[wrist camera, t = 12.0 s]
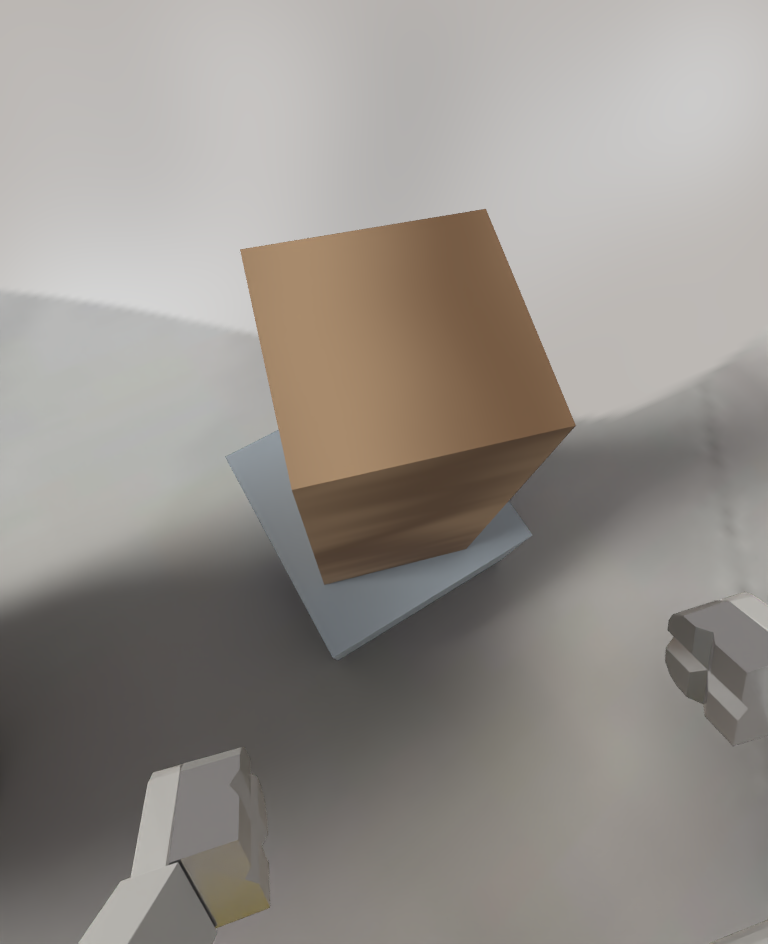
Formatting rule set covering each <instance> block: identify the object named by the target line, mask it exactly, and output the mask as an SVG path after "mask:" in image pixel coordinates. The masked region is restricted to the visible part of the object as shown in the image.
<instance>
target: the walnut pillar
mask: <svg viewBox="0 0 768 944" xmlns="http://www.w3.org/2000/svg"><path fill="white" fill-rule="evenodd" d="M240 251H241V255H242V260H243V264H244V269H245V274H246V278H247V283H248V288H249V293H250V297H251V302H252V307H253V312H254V316H255V321H256V325H257V330H258V335H259V340H260V344H261V349H262V354H263V358H264V363H265V368H266V372H267V377H268V382H269V386H270V391H271V396H272V400H273V405H274V410H275V414H276V419H277V424H278V428H279V433H280V438H281V442H282V447H283V452H284V456H285V461H286V466H287V470H288V475H289V480H290V484H291V489H292V492H293V495H294V498H295V501H296V504H297V507H298V510H299V513H300V516H301V519H302V522H303V524H304V527H305V530H306V533H307V536H308V539H309V542H310V545H311V548H312V551H313V554H314V557H315V559H316V562H317V565H318V568H319V571H320V574H321V577H322V580H323V583H324V585H326V584H330V583H334V582H338V581H342V580H346V579H350V578H354V577H358V576H362V575H365V574H369V573H373V572H377V571H381V570H385V569H389V568H393V567H397V566H401V565H405V564H409V563H413V562H417V561H421V560H425V559H429V558H433V557H437V556H441V555H445V554H449V553H453V552H457V551H461V550H464V549H467V547H468V546H469V545H470V544H471V543H472V542H473V541H474V540H475V538H476V537H477V536H478V535H479V534H480V533H481V532H482V531H483V529H484V528H485V527H486V526H487V525H488V524H489V523H490V522H491V520H492V519H493V518H494V517H495V516H496V515H497V514H498V512H499V511H500V510H501V509H502V508H503V507H504V506H505V505H506V503H507V502H508V501H509V500H510V499H511V498H512V497H513V496H514V494H515V493H516V492H517V491H518V490H519V489H520V488H521V487H522V485H523V484H524V483H525V482H526V481H527V480H528V479H529V478H530V476H531V475H532V474H533V473H534V472H535V471H536V470H537V469H538V467H539V466H540V465H541V464H542V463H543V462H544V461H545V460H546V458H547V457H548V456H549V455H550V454H551V453H552V452H553V451H554V449H555V448H556V447H557V446H558V445H559V444H560V443H561V442H562V440H563V439H564V438H565V437H566V436H567V435H568V434H569V433H570V431H571V430H572V429H573V428H574V427H575V426H576V425H575V423H574V420H573V418H572V416H571V413H570V411H569V408H568V406H567V404H566V401H565V399H564V396H563V394H562V392H561V389H560V387H559V384H558V382H557V379H556V377H555V375H554V372H553V370H552V367H551V365H550V363H549V360H548V358H547V355H546V353H545V351H544V348H543V346H542V343H541V341H540V339H539V336H538V334H537V331H536V329H535V326H534V324H533V322H532V319H531V317H530V314H529V312H528V310H527V307H526V305H525V302H524V300H523V298H522V296H521V293H520V290H519V288H518V286H517V283H516V281H515V278H514V276H513V273H512V271H511V269H510V266H509V264H508V261H507V259H506V257H505V254H504V252H503V249H502V247H501V245H500V242H499V240H498V237H497V235H496V232H495V230H494V228H493V225H492V223H491V221H490V218H489V216H488V213H487V211H486V209H483V210H476V211H470V212H465V213H458V214H453V215H446V216H440V217H434V218H428V219H422V220H416V221H410V222H404V223H398V224H392V225H386V226H380V227H374V228H367V229H362V230H355V231H350V232H343V233H337V234H332V235H325V236H319V237H313V238H307V239H301V240H295V241H289V242H283V243H277V244H271V245H265V246H259V247H253V248H246V249H241V250H240Z"/></svg>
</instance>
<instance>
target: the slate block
mask: <svg viewBox="0 0 768 944" xmlns="http://www.w3.org/2000/svg"><path fill="white" fill-rule="evenodd" d="M226 459H227V461H228V463H229V465H230V467H231V469H232V471H233V472H234V474H235V476H236V478H237V480H238V482H239V484H240V486H241V487H242V489H243V491H244V493H245V495H246V497H247V499H248V500H249V502H250V504H251V506H252V508H253V510H254V512H255V514H256V515H257V517H258V519H259V521H260V523H261V525H262V527H263V529H264V530H265V532H266V534H267V536H268V538H269V540H270V542H271V543H272V545H273V547H274V549H275V551H276V553H277V555H278V557H279V558H280V560H281V562H282V564H283V566H284V568H285V570H286V572H287V573H288V575H289V577H290V579H291V581H292V583H293V585H294V587H295V588H296V590H297V592H298V594H299V596H300V598H301V600H302V601H303V603H304V605H305V607H306V609H307V611H308V613H309V615H310V616H311V618H312V620H313V622H314V624H315V626H316V628H317V630H318V631H319V633H320V635H321V637H322V639H323V641H324V643H325V644H326V646H327V648H328V650H329V652H330V654H331V656H332V658H334V659H336V660H340V659H341V658H343V657H345V656H346V655H348V654H350V653H351V652H353V651H354V650H356V649H358V648H359V647H361V646H363V645H364V644H366V643H367V642H369V641H371V640H372V639H374V638H375V637H377V636H379V635H380V634H382V633H384V632H385V631H387V630H388V629H390V628H392V627H393V626H395V625H397V624H398V623H400V622H401V621H403V620H405V619H406V618H408V617H409V616H411V615H413V614H414V613H416V612H418V611H419V610H421V609H422V608H424V607H426V606H427V605H429V604H431V603H432V602H434V601H435V600H437V599H439V598H440V597H442V596H443V595H445V594H447V593H448V592H450V591H452V590H453V589H455V588H456V587H458V586H460V585H461V584H463V583H465V582H466V581H468V580H469V579H471V578H473V577H474V576H476V575H477V574H479V573H481V572H482V571H484V570H486V569H487V568H489V567H490V566H492V565H494V564H495V563H497V562H499V561H500V560H501V559H503V558H504V557H505V556H507V555H508V554H509V553H510V552H512V551H513V550H514V549H515V548H517V547H518V546H519V545H521V544H522V543H523V542H524V541H526V540H527V539H528V538H530V537H531V536H532V533H531V532H530V531H529V529H528V528H527V526H526V525H525V523H524V522H523V520H522V519H521V518H520V516H519V515H518V513H517V512H516V510H515V509H514V507H513V506H512V505H511V503H510V502H509V501H508V502H507V503H506V505H505V506H504V507H503V508H502V509H501V510H500V511H499V512H498V514H497V515H496V516H495V517H494V518H493V519H492V520H491V522H490V523H489V524H488V525H487V526H486V527H485V528H484V529H483V531H482V532H481V533H480V534H479V535H478V536H477V537H476V538H475V540H474V541H473V542H472V543H471V544H470V545H469V546H468V547H467V549H464V550H461V551H457V552H453V553H449V554H445V555H441V556H437V557H433V558H429V559H425V560H421V561H417V562H413V563H409V564H405V565H401V566H397V567H393V568H389V569H385V570H381V571H377V572H373V573H369V574H365V575H362V576H358V577H354V578H350V579H346V580H342V581H338V582H334V583H330V584H326V585H324V583H323V580H322V577H321V574H320V571H319V568H318V565H317V562H316V559H315V557H314V554H313V551H312V548H311V545H310V542H309V539H308V536H307V533H306V530H305V527H304V524H303V522H302V519H301V516H300V513H299V510H298V507H297V504H296V501H295V498H294V495H293V492H292V489H291V484H290V480H289V475H288V470H287V466H286V461H285V456H284V452H283V447H282V442H281V438H280V433H279V430H277V431H275V432H273V433H271V434H269V435H267V436H265V437H263V438H261V439H259V440H257V441H255V442H253V443H251V444H249V445H247V446H245V447H244V448H242V449H240V450H238V451H236V452H234V453H232V454H230V455H228V456H226Z"/></svg>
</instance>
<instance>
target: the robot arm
mask: <svg viewBox="0 0 768 944" xmlns="http://www.w3.org/2000/svg"><path fill="white" fill-rule="evenodd" d="M668 631H669V632H670V633H671V634H672V635H673V636H674V637H673V639H672V640H671V641H670V643H669V644H668V646H667V647H666V655H665V662H666V665H667V668H668V671H669V674H670V676H671V678H672V679H673V681H674V682H675V684H676V685H677V687H678V688H679V689H680V690H681V691H682V692H683V693H684V695H685V696H686V697H688V698H690V699H692V700H695V701H697V702H699V703H702V704H703V707H704V715H705V717H706V718H707V719H708V720H709V721H710V722H711V724H712V725H713V726H714V727H715V728H716V729H717V730H718V731H719V732H720V733H721V734H722V735H723V736H724V737H725V738H726V739H727V741H728V742H729V743H730V744H731V745H732V746H736V745H739V744H743V743H746V742H749V741H752V740H755V739H759V738H762V737H765V736H768V605H767V604H765V603H764V602H763V601H761V600H760V599H758V598H757V597H756V596H754V595H752V594H749V593H746V592H743V593H740V594H736V595H733V596H730V597H727V598H723V599H721V600H716V601H713V602H709V603H706V604H703V605H700V606H697V607H694V608H691V609H688V610H685V611H681V612H678V613H675V614H673V615H672V616H671V618H670V619H669V622H668ZM267 836H268V826H267V813H266V806H265V799H264V795H263V791H262V787H261V784H260V782H259V779H258V777H257V776H255V775H253V774H251V759H250V757H249V755H248V753H247V751H246V748H245V747H240V748H237V749H233V750H230V751H226V752H222V753H219V754H215V755H212V756H208V757H204V758H201V759H197V760H194V761H190V762H186V763H184V764H180V765H177V766H173V767H170V768H166V769H163V770H160V771H156V772H153V774H152V776H151V778H150V780H149V782H148V784H147V790H146V795H145V801H144V806H143V812H142V817H141V823H140V828H139V834H138V839H137V845H136V850H135V856H134V861H133V867H132V872H131V877H130V878H127V879H124V880H122V881H120V883H119V884H118V886H117V887H116V889H115V890H114V891H113V893H112V894H111V896H110V897H109V899H108V900H107V902H106V903H105V905H104V906H103V908H102V909H101V910H100V912H99V913H98V915H97V916H96V918H95V919H94V921H93V922H92V924H91V925H90V927H89V928H88V929H87V931H86V932H85V934H84V935H83V937H82V938H81V940H80V941H79V943H78V944H212V943H213V941H214V938H215V936H216V934H217V930H216V928H218V927H221V926H223V925H226V924H228V923H231V922H234V921H236V920H239V919H242V918H244V917H247V916H249V915H252V914H255V913H257V912H260V911H263V910H265V909H268V908H270V884H269V862H268V860H267V857H266V855H265V853H264V850H263V848H262V846H263V844H264V842H265V840H266V838H267ZM709 944H768V920H766V921H764V922H761V923H759V924H756V925H754V926H751V927H749V928H746V929H744V930H741V931H739V932H736V933H734V934H731V935H729V936H726V937H724V938H721V939H719V940H716V941H714V942H711V943H709Z"/></svg>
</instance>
